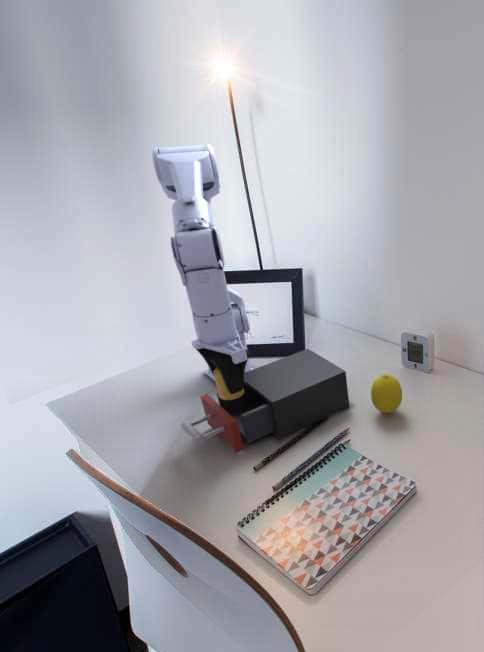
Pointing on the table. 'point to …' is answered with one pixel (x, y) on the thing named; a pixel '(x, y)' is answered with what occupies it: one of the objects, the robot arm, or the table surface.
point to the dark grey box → (300, 390)
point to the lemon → (386, 393)
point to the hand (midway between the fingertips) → (230, 386)
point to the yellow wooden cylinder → (224, 387)
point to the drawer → (234, 419)
